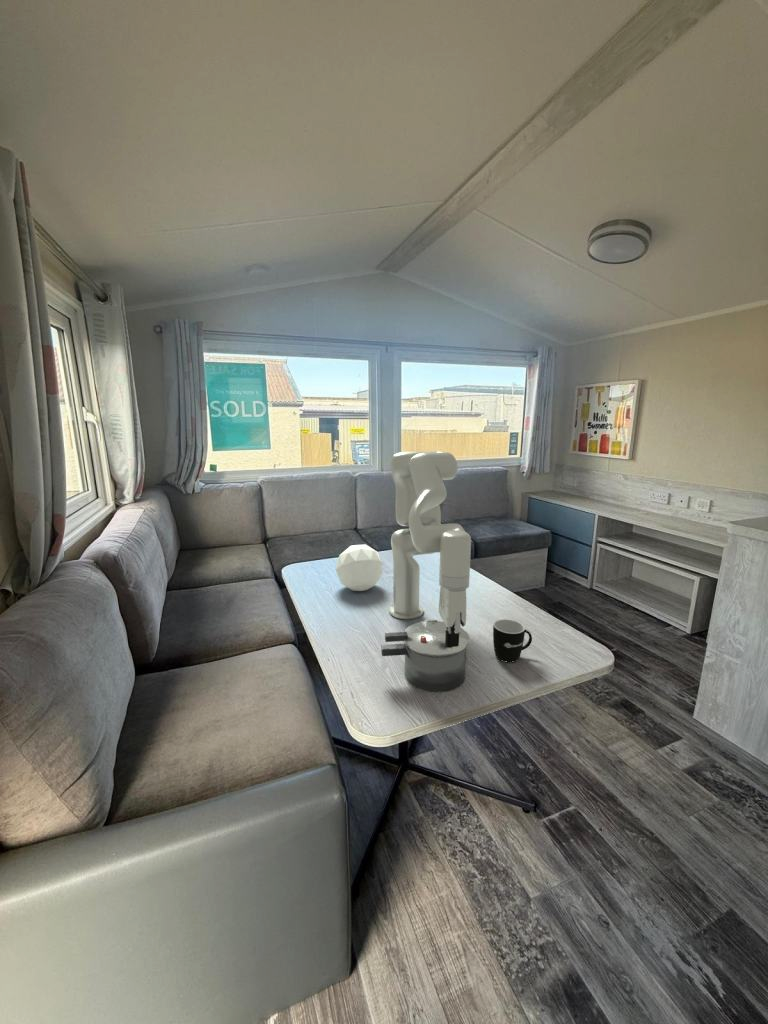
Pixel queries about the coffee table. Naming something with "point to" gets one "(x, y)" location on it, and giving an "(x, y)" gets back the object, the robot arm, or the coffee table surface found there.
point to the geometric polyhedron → (359, 567)
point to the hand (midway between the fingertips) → (451, 645)
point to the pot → (430, 668)
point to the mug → (509, 639)
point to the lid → (429, 639)
